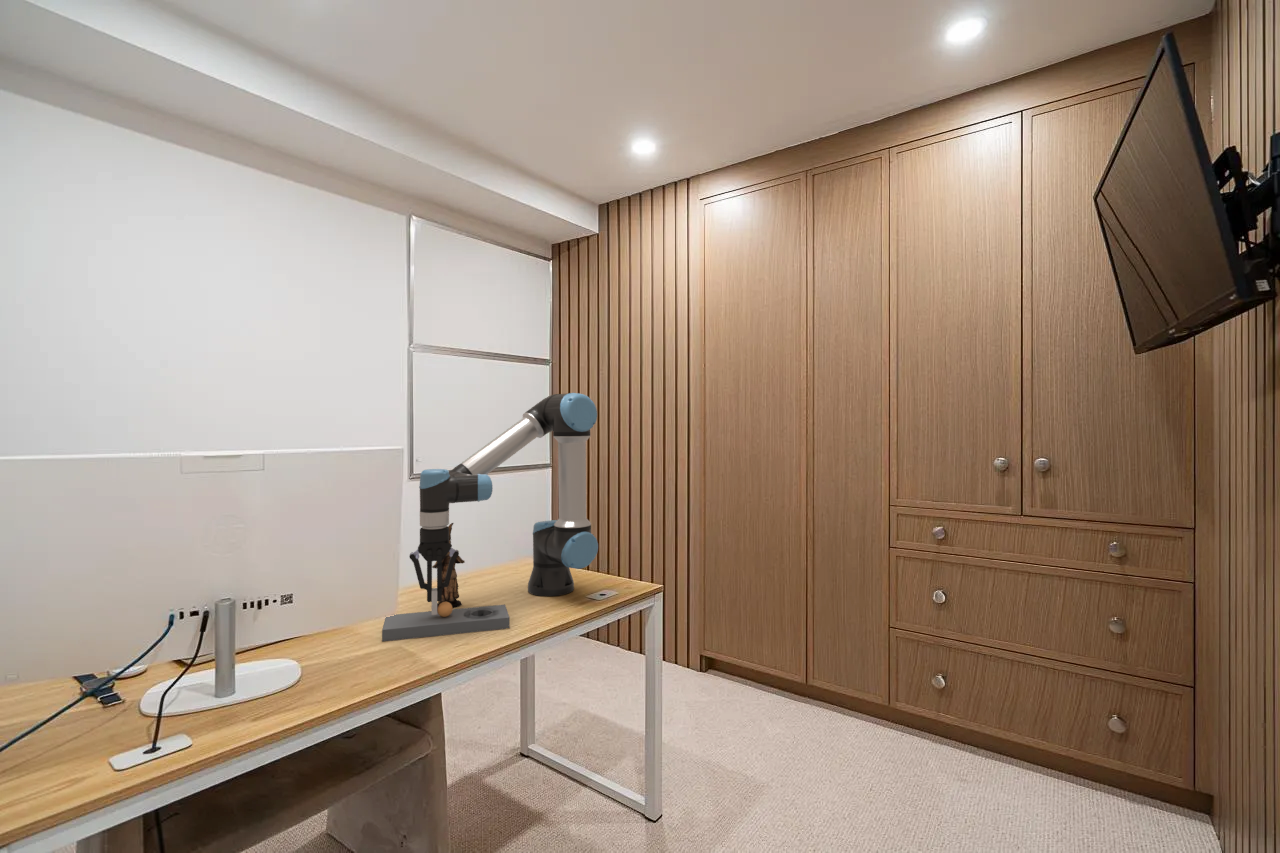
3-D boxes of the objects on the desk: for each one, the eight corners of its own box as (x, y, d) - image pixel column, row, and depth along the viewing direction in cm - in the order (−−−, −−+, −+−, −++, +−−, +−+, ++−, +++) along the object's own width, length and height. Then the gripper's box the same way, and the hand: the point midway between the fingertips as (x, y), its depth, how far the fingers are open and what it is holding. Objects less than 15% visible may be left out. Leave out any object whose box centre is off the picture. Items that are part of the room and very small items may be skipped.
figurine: (466, 604, 187) (466, 523, 186) (438, 612, 179) (438, 527, 179) (454, 600, 191) (454, 520, 190) (426, 608, 183) (426, 525, 183)
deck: (505, 614, 178) (505, 604, 178) (509, 628, 166) (509, 617, 166) (386, 626, 168) (386, 615, 168) (382, 641, 156) (382, 629, 156)
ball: (438, 616, 168) (453, 612, 169) (438, 620, 164) (454, 616, 166) (436, 602, 168) (451, 598, 169) (435, 606, 164) (451, 602, 165)
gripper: (459, 523, 171) (459, 607, 172) (409, 525, 167) (409, 611, 168) (459, 527, 164) (459, 615, 164) (408, 530, 160) (408, 620, 160)
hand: (434, 613), depth 166 cm, fingers closed
